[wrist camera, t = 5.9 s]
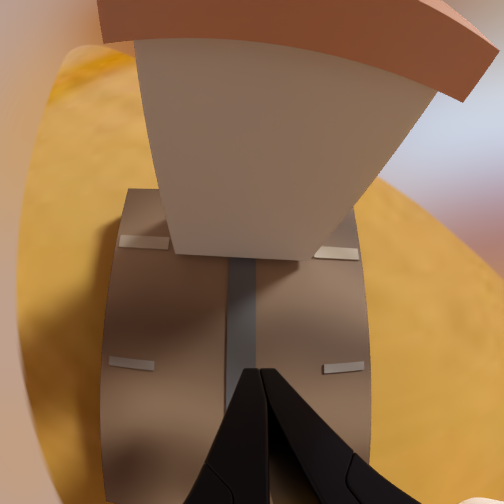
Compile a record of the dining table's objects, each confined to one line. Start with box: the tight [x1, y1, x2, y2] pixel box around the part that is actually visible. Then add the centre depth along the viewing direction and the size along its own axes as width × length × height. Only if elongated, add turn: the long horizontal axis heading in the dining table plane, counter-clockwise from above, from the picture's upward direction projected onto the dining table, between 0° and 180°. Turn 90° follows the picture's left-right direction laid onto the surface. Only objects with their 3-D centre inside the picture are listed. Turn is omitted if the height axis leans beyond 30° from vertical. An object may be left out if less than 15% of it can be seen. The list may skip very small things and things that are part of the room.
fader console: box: [100, 189, 371, 504], centre depth 13 cm, size 16×12×2 cm
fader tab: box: [97, 0, 499, 261], centre depth 8 cm, size 3×7×12 cm, turn 90°
